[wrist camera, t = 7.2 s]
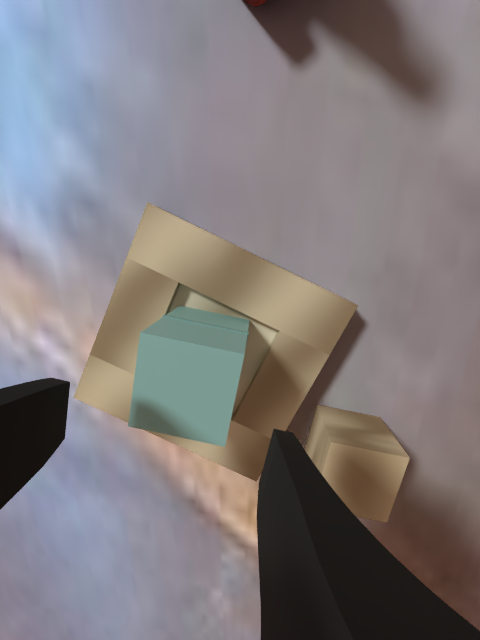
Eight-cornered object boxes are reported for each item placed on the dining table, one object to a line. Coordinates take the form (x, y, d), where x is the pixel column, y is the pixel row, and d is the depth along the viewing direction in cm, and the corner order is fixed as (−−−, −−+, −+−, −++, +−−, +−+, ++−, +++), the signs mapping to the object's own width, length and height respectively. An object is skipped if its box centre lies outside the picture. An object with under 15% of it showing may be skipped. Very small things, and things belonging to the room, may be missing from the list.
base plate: (348, 300, 18) (358, 305, 16) (256, 461, 20) (256, 481, 19) (158, 207, 17) (147, 202, 15) (90, 384, 20) (73, 397, 18)
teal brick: (250, 319, 17) (246, 353, 11) (236, 385, 18) (225, 448, 12) (179, 304, 17) (138, 331, 12) (169, 371, 18) (126, 427, 12)
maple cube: (379, 416, 19) (409, 458, 15) (362, 470, 20) (386, 522, 16) (316, 403, 19) (331, 442, 15) (302, 458, 20) (312, 507, 16)
